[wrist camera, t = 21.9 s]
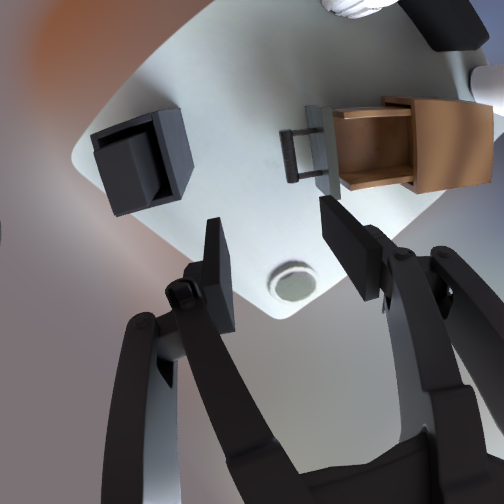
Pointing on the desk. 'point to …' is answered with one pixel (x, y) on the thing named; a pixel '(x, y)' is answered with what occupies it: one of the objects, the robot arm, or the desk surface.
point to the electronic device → (447, 23)
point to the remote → (131, 170)
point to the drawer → (354, 147)
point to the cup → (488, 86)
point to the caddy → (171, 149)
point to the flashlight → (355, 7)
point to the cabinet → (448, 142)
